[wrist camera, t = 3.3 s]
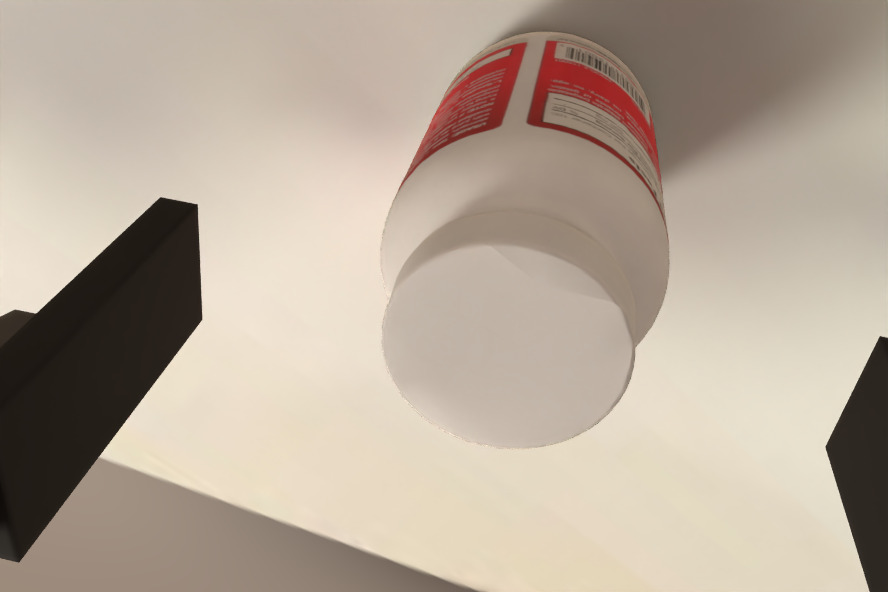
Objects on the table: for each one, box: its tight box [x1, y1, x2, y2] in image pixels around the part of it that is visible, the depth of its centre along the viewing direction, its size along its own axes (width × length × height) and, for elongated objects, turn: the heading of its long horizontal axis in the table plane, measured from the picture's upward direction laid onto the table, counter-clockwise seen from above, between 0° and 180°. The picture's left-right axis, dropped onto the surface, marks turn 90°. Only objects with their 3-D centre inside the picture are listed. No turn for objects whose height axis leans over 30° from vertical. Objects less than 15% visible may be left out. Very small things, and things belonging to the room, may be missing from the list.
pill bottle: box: [381, 32, 669, 449], centre depth 20 cm, size 6×6×11 cm
